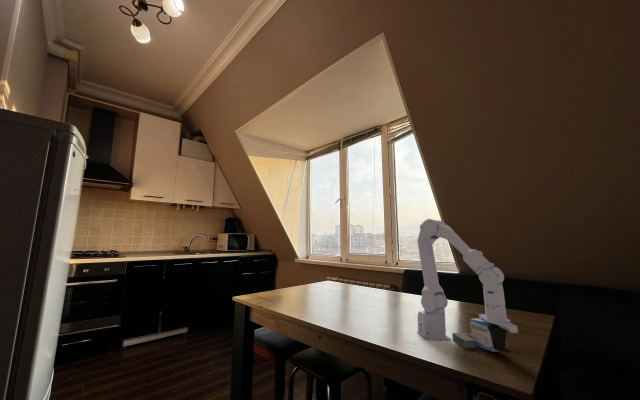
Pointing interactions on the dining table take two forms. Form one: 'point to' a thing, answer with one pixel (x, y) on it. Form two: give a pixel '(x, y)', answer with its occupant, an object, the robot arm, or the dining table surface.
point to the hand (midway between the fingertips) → (499, 350)
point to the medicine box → (481, 334)
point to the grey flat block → (465, 340)
